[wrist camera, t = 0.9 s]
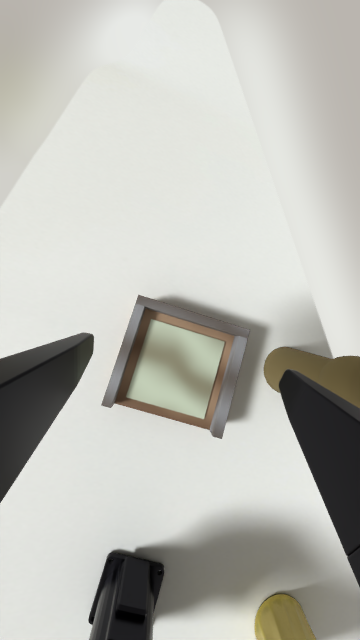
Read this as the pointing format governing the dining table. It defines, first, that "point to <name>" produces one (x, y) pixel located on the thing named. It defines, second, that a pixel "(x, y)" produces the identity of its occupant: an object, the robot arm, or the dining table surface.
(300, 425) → the robot arm
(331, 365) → the olive domed stopper
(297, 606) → the vase
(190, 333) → the wooden tray
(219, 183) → the dining table surface
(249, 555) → the dining table surface
